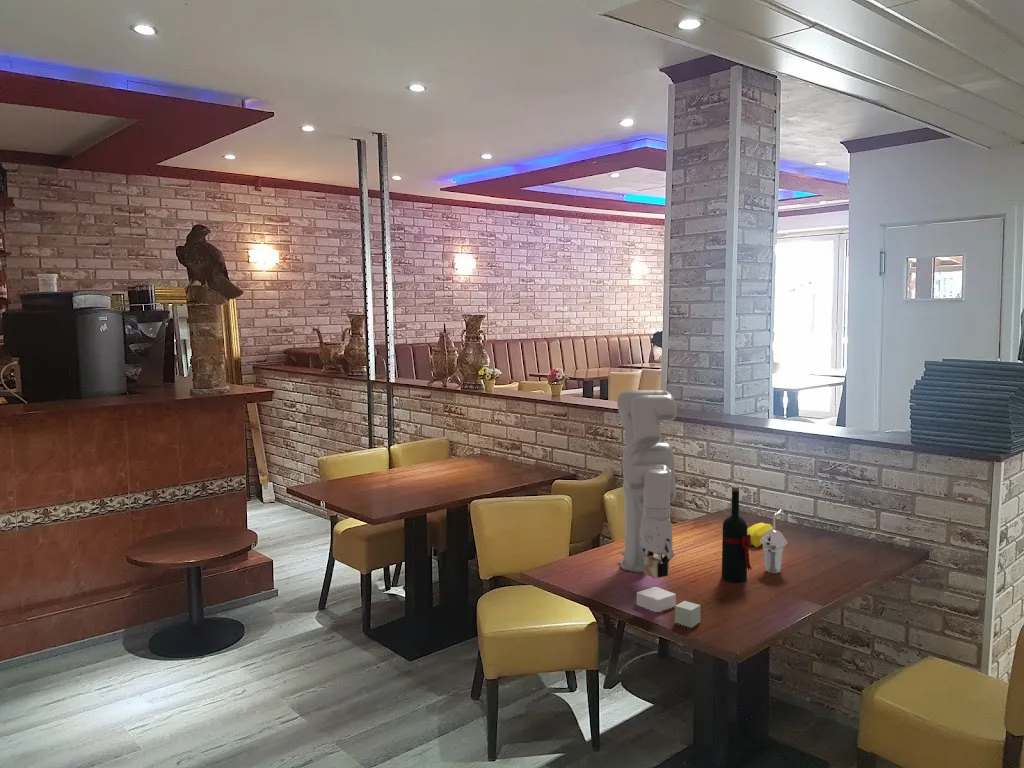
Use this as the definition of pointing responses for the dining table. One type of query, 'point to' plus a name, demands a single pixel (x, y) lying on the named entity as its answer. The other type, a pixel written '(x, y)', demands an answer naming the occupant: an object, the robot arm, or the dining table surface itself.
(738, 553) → the wine bottle
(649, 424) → the robot arm
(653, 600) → the base block
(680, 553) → the dining table surface
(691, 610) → the sage cube
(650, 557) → the maple cube
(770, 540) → the cup with straw
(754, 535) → the yellow rounded lump
